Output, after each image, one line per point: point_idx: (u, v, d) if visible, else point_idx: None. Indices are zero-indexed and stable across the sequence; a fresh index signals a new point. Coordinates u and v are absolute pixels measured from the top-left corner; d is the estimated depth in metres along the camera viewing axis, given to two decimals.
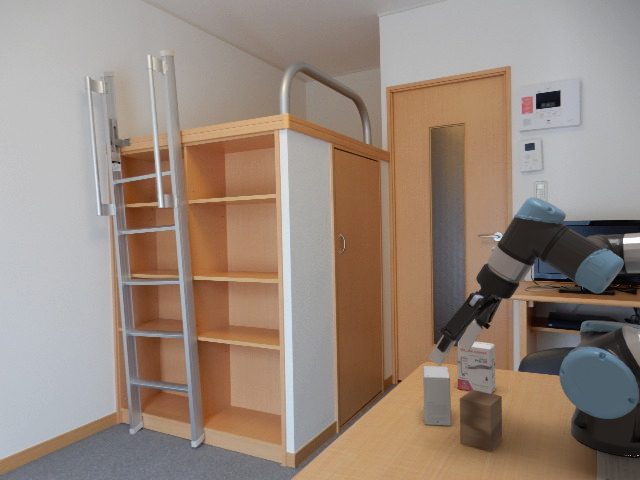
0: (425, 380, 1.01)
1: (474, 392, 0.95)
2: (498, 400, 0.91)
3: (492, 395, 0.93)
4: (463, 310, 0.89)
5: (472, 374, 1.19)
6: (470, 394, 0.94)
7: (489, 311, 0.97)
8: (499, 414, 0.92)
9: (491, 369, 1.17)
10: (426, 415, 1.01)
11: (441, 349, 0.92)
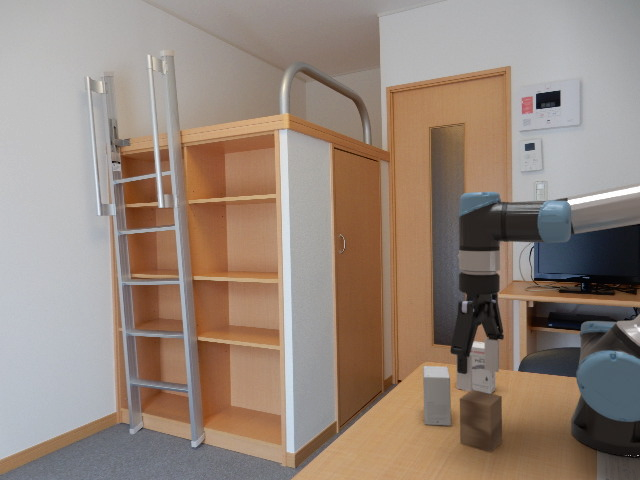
0: (425, 380, 1.01)
1: (474, 392, 0.95)
2: (498, 400, 0.91)
3: (492, 395, 0.93)
4: (460, 321, 0.86)
5: (472, 374, 1.19)
6: (470, 394, 0.94)
7: (491, 317, 0.93)
8: (499, 414, 0.92)
9: None
10: (426, 415, 1.01)
11: (462, 371, 0.86)
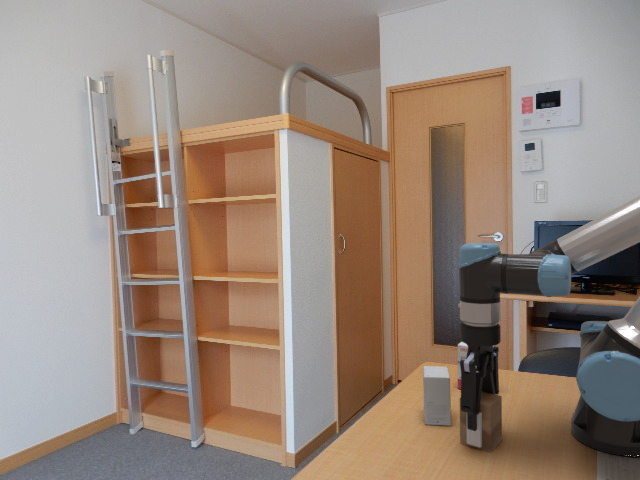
0: (425, 380, 1.01)
1: None
2: (498, 400, 0.91)
3: (492, 395, 0.93)
4: (464, 380, 0.88)
5: None
6: None
7: (490, 370, 0.93)
8: (498, 413, 0.92)
9: None
10: (426, 415, 1.01)
11: (472, 428, 0.89)
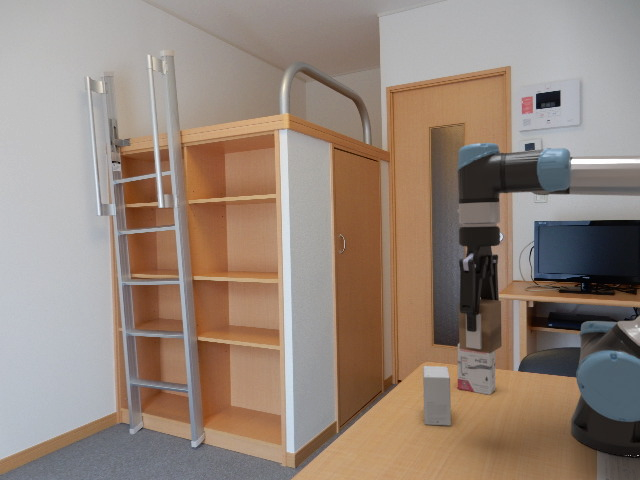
0: (425, 380, 1.01)
1: None
2: (497, 303, 0.91)
3: (492, 300, 0.92)
4: (464, 280, 0.87)
5: (472, 374, 1.19)
6: None
7: (489, 274, 0.92)
8: (498, 317, 0.91)
9: (491, 369, 1.17)
10: (426, 415, 1.01)
11: (471, 329, 0.88)
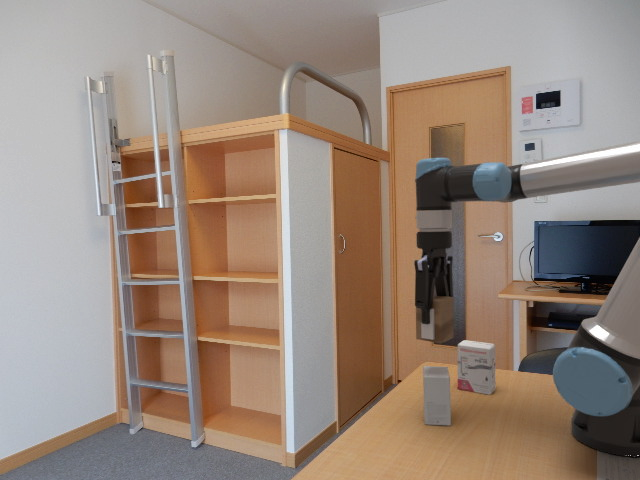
0: (425, 380, 1.01)
1: None
2: (449, 299, 1.02)
3: (445, 297, 1.04)
4: (418, 278, 0.98)
5: (472, 374, 1.19)
6: None
7: (443, 273, 1.03)
8: (450, 312, 1.03)
9: (491, 369, 1.17)
10: (426, 415, 1.01)
11: (425, 322, 1.00)
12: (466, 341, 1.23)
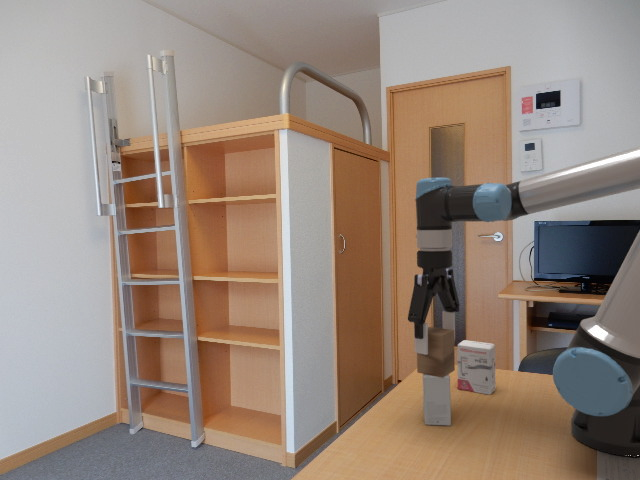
0: (425, 380, 1.01)
1: (430, 328, 1.06)
2: (450, 333, 1.03)
3: (446, 329, 1.04)
4: (416, 292, 0.98)
5: (472, 374, 1.19)
6: None
7: (446, 290, 1.04)
8: (451, 345, 1.03)
9: (491, 369, 1.17)
10: (426, 415, 1.01)
11: (418, 336, 0.97)
12: (466, 341, 1.23)
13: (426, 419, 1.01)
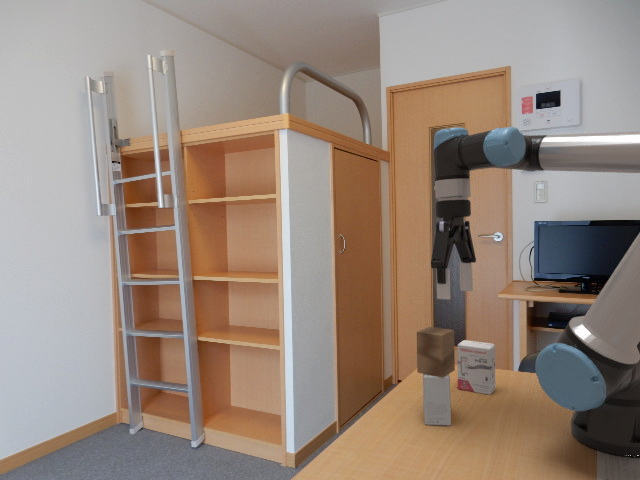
0: (425, 380, 1.01)
1: (430, 328, 1.06)
2: (450, 333, 1.03)
3: (446, 329, 1.04)
4: (438, 238, 0.99)
5: (472, 374, 1.19)
6: (426, 329, 1.05)
7: (464, 240, 1.07)
8: (451, 345, 1.03)
9: (491, 369, 1.17)
10: (426, 415, 1.01)
11: (441, 281, 0.99)
12: (466, 341, 1.23)
13: (426, 419, 1.01)
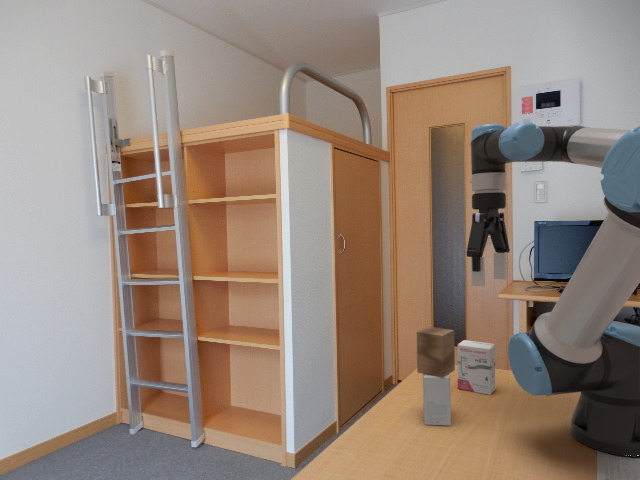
0: (425, 380, 1.01)
1: (430, 328, 1.06)
2: (450, 333, 1.03)
3: (446, 330, 1.04)
4: (474, 228, 1.05)
5: (472, 374, 1.19)
6: (426, 329, 1.05)
7: (499, 231, 1.12)
8: (451, 345, 1.03)
9: (491, 369, 1.17)
10: (426, 415, 1.01)
11: (476, 269, 1.05)
12: (466, 341, 1.23)
13: (426, 419, 1.01)
